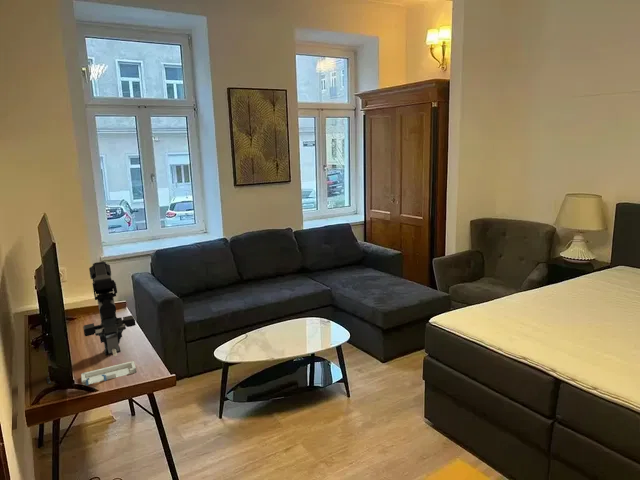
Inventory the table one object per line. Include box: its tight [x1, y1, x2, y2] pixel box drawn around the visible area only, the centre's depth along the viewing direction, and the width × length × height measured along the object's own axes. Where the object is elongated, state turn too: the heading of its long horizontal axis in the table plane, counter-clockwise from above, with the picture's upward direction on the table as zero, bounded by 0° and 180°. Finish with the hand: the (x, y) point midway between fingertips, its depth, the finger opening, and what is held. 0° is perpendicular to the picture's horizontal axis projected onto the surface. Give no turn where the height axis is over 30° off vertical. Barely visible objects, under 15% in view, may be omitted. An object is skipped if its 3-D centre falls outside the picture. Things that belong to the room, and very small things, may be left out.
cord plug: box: [106, 334, 120, 357], centre depth 185 cm, size 10×4×6 cm, turn 29°
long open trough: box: [80, 360, 137, 386], centre depth 188 cm, size 8×20×3 cm, turn 118°
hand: (112, 345), depth 187 cm, fingers closed on cord plug, 4 cm apart
